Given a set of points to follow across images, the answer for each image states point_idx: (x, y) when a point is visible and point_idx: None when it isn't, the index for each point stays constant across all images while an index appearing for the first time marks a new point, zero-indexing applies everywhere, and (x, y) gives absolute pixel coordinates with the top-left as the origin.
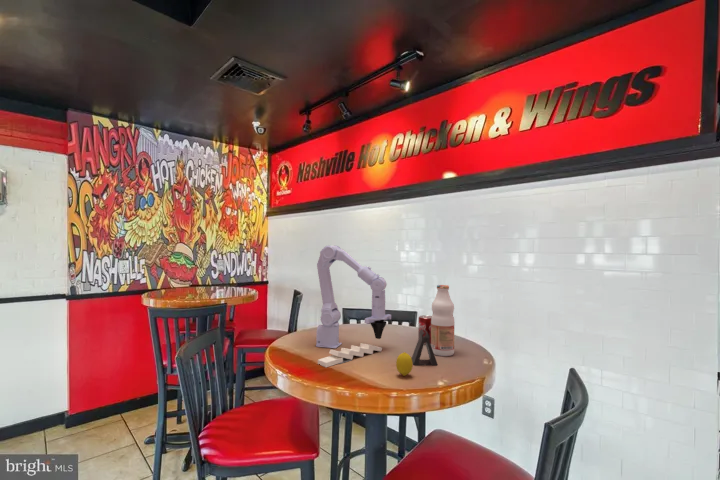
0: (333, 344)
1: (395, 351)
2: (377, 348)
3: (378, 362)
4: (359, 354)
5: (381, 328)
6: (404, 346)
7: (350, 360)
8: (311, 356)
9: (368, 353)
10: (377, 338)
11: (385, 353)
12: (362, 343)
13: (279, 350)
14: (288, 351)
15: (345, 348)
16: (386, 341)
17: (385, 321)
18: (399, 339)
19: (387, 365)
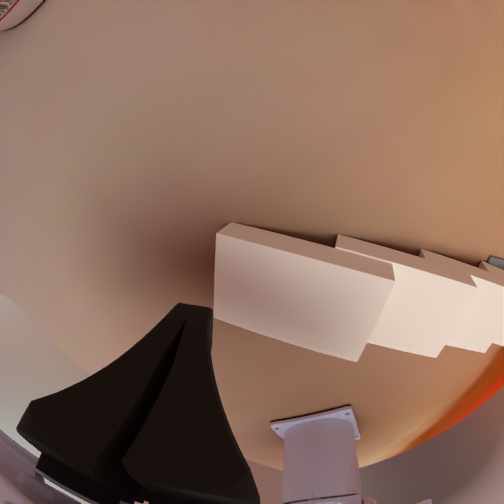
0: (341, 425)
1: (147, 138)
2: (280, 242)
3: (461, 103)
4: (454, 264)
5: (146, 392)
6: (36, 180)
7: (494, 257)
8: (462, 381)
9: (382, 246)
10: (212, 324)
11: (252, 163)
12: (363, 348)
13: (424, 437)
14: (427, 429)
15: (476, 341)
16: (64, 311)
17: (28, 440)
18: (10, 278)
19: (463, 35)
